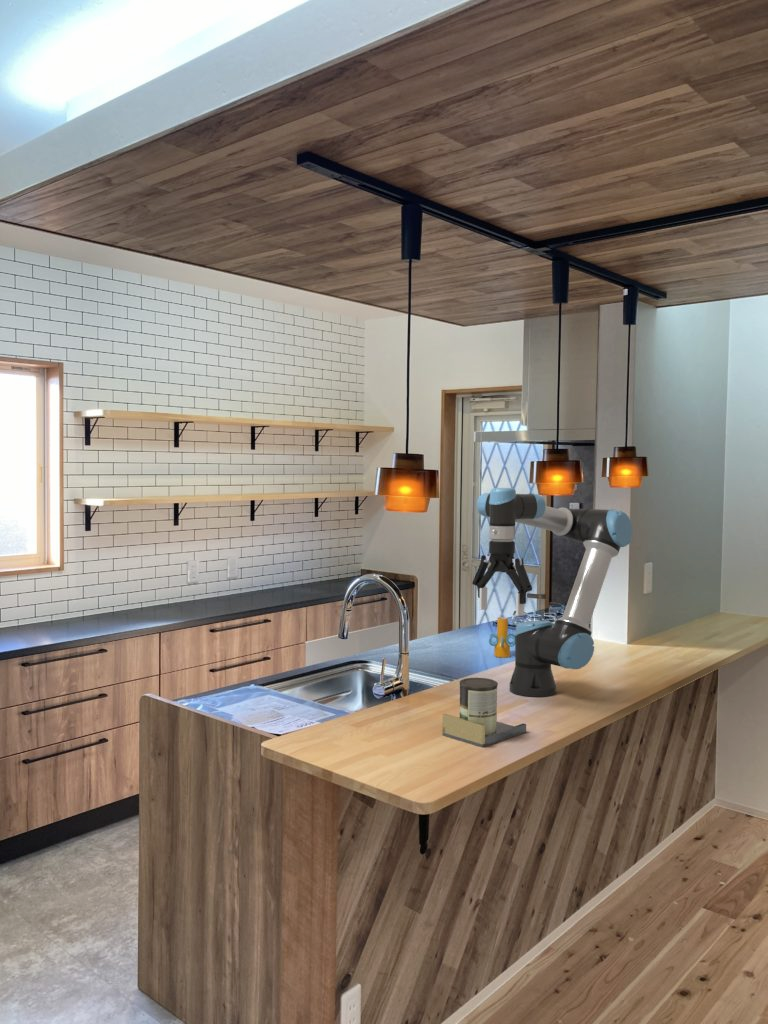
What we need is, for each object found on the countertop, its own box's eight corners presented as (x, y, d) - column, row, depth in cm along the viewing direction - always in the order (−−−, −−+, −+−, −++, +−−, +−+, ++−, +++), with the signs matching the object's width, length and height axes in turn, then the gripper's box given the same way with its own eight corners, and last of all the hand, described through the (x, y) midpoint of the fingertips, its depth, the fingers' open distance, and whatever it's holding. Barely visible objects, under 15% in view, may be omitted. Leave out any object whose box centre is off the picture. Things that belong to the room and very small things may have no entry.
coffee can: (451, 733, 232) (452, 682, 231) (472, 725, 240) (473, 675, 239) (483, 741, 225) (484, 688, 225) (504, 732, 233) (504, 681, 233)
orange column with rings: (515, 660, 328) (516, 621, 327) (488, 659, 329) (488, 620, 329) (515, 653, 340) (516, 616, 339) (489, 652, 341) (489, 615, 341)
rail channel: (486, 721, 246) (486, 701, 246) (526, 732, 236) (526, 711, 236) (442, 735, 233) (442, 714, 233) (482, 747, 223) (482, 725, 223)
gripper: (461, 538, 257) (460, 608, 258) (529, 543, 239) (528, 619, 240) (477, 537, 262) (476, 605, 263) (544, 542, 244) (543, 616, 245)
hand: (501, 612), depth 252 cm, fingers open, 13 cm apart
